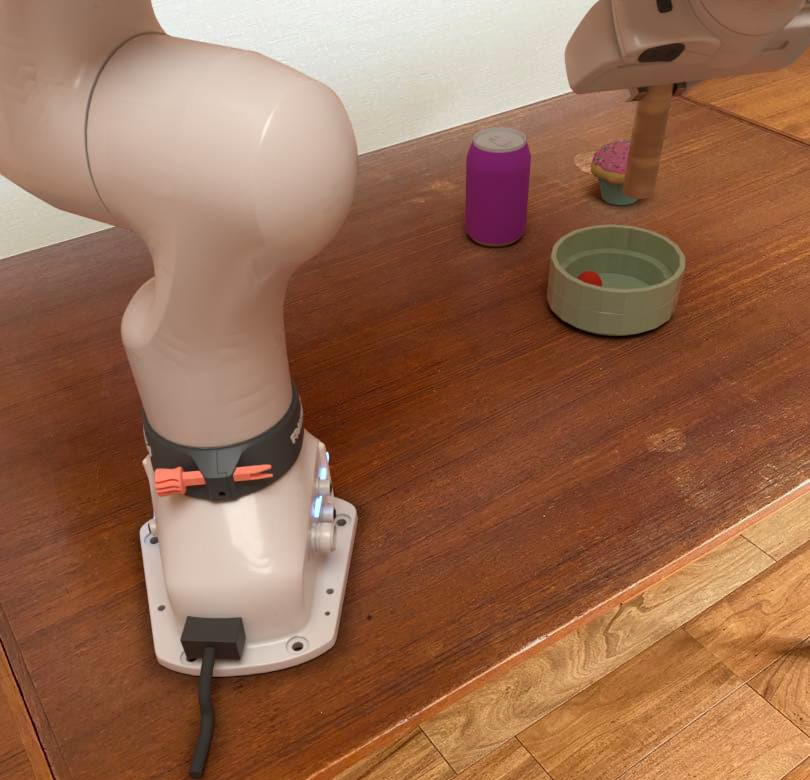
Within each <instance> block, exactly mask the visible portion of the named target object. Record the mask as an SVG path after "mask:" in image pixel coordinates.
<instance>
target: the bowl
mask: <svg viewBox="0 0 810 780" xmlns="http://www.w3.org/2000/svg"><path fill="white" fill-rule="evenodd" d="M585 271H593V272H595V273H597V274H598V275H599V276H600V278H601V280H602V287H600V286H596V285H592V284H588V283H585V282H583V281H581V280H579V279H577V277H578V276H579V275H580V274H581V273H583V272H585ZM685 271H686V256H685V254H684V252H683V251H682V249H681V248H680V245H678V244H677V243H675V242H674V241H672V240H671V239H670V238H669V237H667V236H665V235H663V234H660V233H658V232H656V231H653V230H650V229H647V228H642V227H639V226H638V227H637V226H633V225H625V224H597V225H590V226H586V227H582V228H578V229H574V230H572V231H570V232H569V233H566V234H564V235H563V236H561V237H560V238H559V239H558V240H557V241H556V243H554V244H553V246H552V249H551V253H550V259H549V270H548V281H547V288H546V289H547V290H546V300H547V303H548V305H549V308H550V310H551V311H552V312H553V313H554V314H555V315H556V316H557V317H558V318H559V319H560V320H561V321H563V322H565V323H567V324H568V325H571V326H572V327H574V328H576V329H579V330H581V331H583V332H587V333H591V334H594V335H599V336H607V337H608V336H609V337H625V336H632V335H638V334H641V333H645V332H648V331H651V330H655V329H657V328H659V327H660V326H662V325H664V324H665V323H667V322H668V321H669V320H671V318H672V316H673V315H674V313H675V311H676V310H677V306H678V301H679V297H680V292H681V288H682V283H683V279H684V276H685Z"/></svg>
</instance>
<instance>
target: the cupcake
mask: <svg viewBox="0 0 810 780" xmlns="http://www.w3.org/2000/svg"><path fill="white" fill-rule="evenodd" d="M630 141H631V138H621V139H619V140H614V141H612V142H609V143H606V144H604V145H603V146H601V147H600V148H599V149H598V150H596V151H595V152H594V153H593V157H592V161H591V164H590V172H591V175H593V176H594V177H596V179H597V180H598V183H599V188H600V194H601V195H600V196H601V198H602V200H603V201H604V202H606V203H607V204H610V205H614V206H629V205H632V204H634V203H636V202H637V201H638V200H639V199H634V198H630V197H628V196H626V195H624V194H623V184H624V178H625V172H626V166H627V159H628V153H629V147H630Z"/></svg>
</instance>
